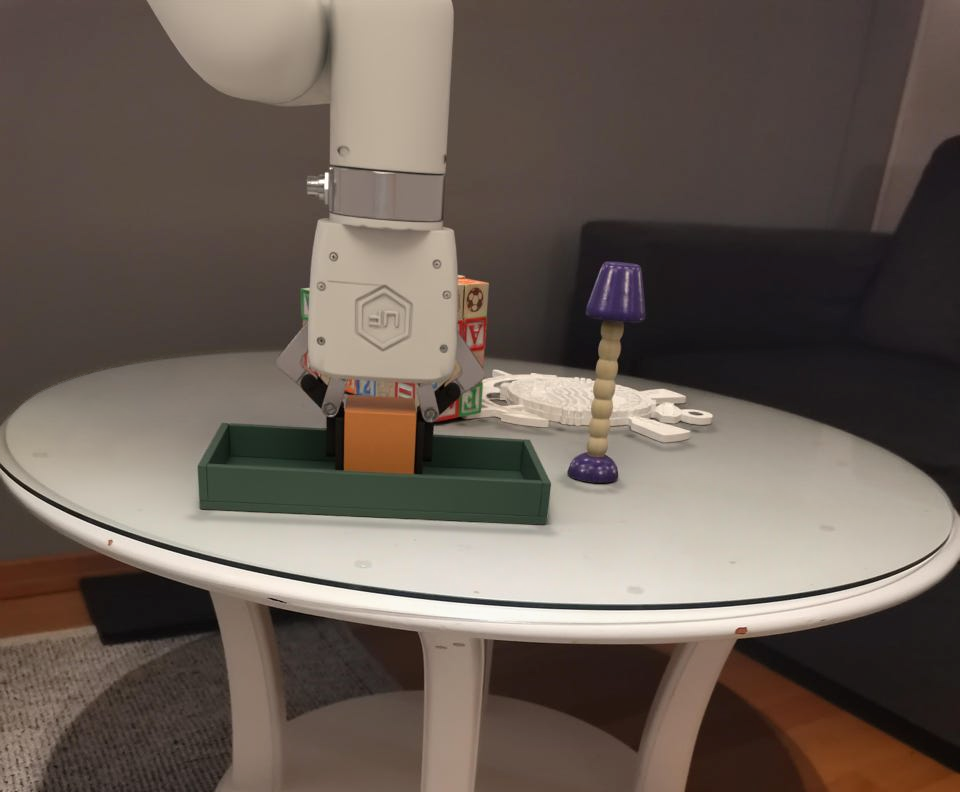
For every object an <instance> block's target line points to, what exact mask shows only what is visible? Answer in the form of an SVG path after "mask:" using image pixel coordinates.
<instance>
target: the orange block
mask: <svg viewBox="0 0 960 792" xmlns="http://www.w3.org/2000/svg"><path fill="white" fill-rule="evenodd" d="M344 411H345V428H344V471H362V472H382V473H402V474H414V458H415V436H416V408H415V399H414V398H398V397H380V396H362V395H355V394H347V395H346V399H345V405H344Z"/></svg>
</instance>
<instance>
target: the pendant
mask: <svg viewBox="0 0 960 792" xmlns="http://www.w3.org/2000/svg"><path fill="white" fill-rule="evenodd" d="M491 374H492V375H491V377H488V378H484V379H483V381H482V382H483V391H482V404H481V413H477V414H472V415H467V416H462V417H460V418H461V419H464V420H469V419H481V418H491V417H496V418H499V419H500V422H503V423H509V424H514V425H519V426H527V427H537V428H549V426H550V425H549V424H550V422H554V423H555V422H556V423H560V424H562V425H569V426H575V427H581V426H589V423H590V420H591V418H592V414H591V404H592V401H593V399H594V398H595V397H594V394H593V386H594V382H595V380H592V379H591V378H586V377H578V376H574V377H564V376H558V375H555V374H541V373H535V372H530V374H512V373H509V372H506V371H503V370H500V369H492V373H491ZM686 399H687V396H686V395H684V394H681V393H679V392H675V391H673V390H669V389H666V388H657V389H656V388H655V389H648V390H640V391H639V390H637V389H634V388H631V387H628V386H623V385H620V384H615V393H614V395H613V397H612V402H613V411H612V414H611V416H610V418H609V419H610V427H616V426H628V427H630V431H633V432H635V433H637V434H640V435H643V436H645V437H647V438H650V439H653V440H655V441H657V442H660V443H663V444H664V443H675V442H681V441H686V440H689V439H690V436H691V430H688V429H684V428H682V427H677V426H675V424H677V423H679V422H682V423H686V424H690V425H699V426H705V425H711V424H712V422H713V416H714V415H713V414H712V413H710V412H708V411H704V410H699V409H692V408H691V409H690V408H689V409H687V408H685V409H680V407H678V406H676V405H675V404H677V405H678V404H685V403H686ZM491 400H499V401H505V402H506V404H507V405H500V404H497V403H495V402H493V401H491ZM651 418H652V419H651ZM654 419H655V420H654ZM671 424H672V425H671ZM673 424H674V425H673Z"/></svg>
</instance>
